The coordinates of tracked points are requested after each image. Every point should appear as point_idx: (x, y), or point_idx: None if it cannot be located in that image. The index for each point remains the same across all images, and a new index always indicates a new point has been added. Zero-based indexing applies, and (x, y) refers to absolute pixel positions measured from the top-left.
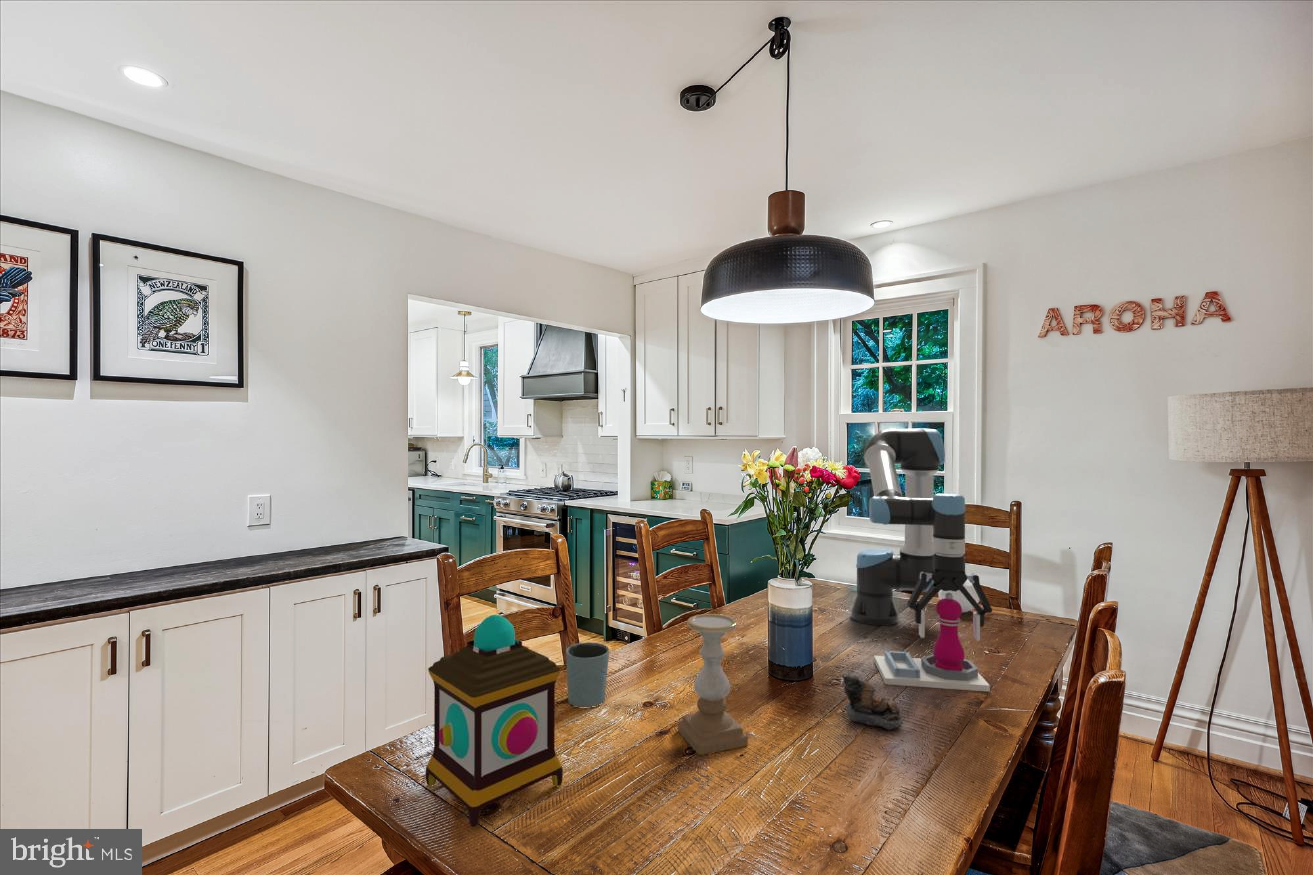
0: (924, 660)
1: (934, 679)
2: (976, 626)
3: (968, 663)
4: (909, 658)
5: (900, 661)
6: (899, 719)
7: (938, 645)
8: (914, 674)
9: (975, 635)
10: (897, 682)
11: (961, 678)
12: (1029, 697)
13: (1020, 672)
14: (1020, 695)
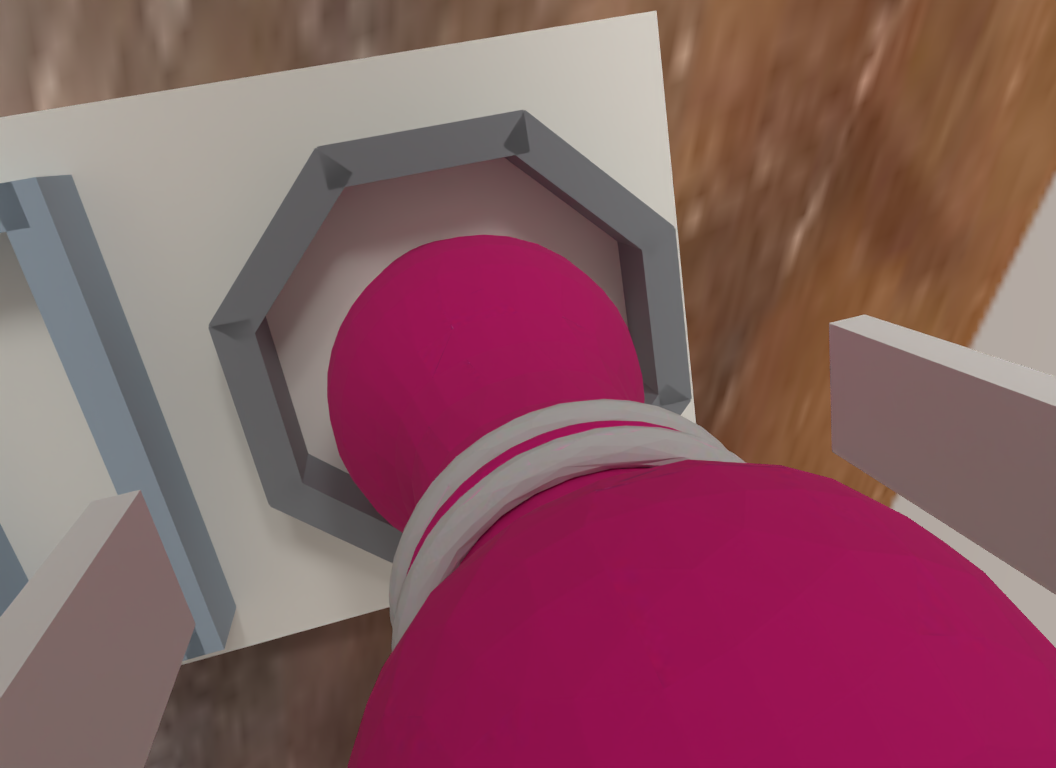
0: (246, 389)
1: (345, 581)
2: (974, 530)
3: (641, 272)
4: (87, 388)
5: (2, 269)
6: None
7: (382, 514)
8: None
9: (865, 428)
10: None
11: None
12: (880, 484)
13: (999, 7)
14: (842, 476)
